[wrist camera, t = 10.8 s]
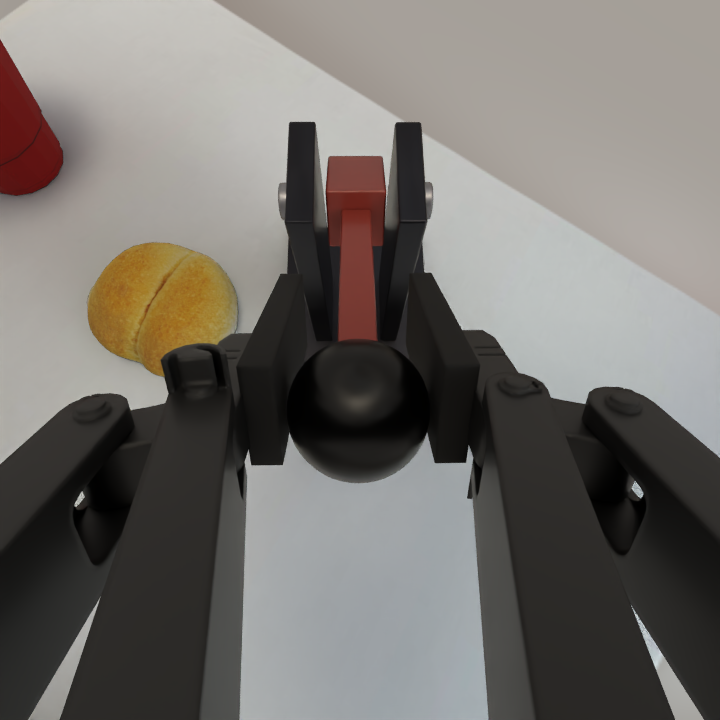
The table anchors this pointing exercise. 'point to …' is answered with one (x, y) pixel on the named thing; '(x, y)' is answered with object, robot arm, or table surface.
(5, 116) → the plastic cup
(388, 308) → the bracket
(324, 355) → the lever
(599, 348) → the table surface
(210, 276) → the bread roll
